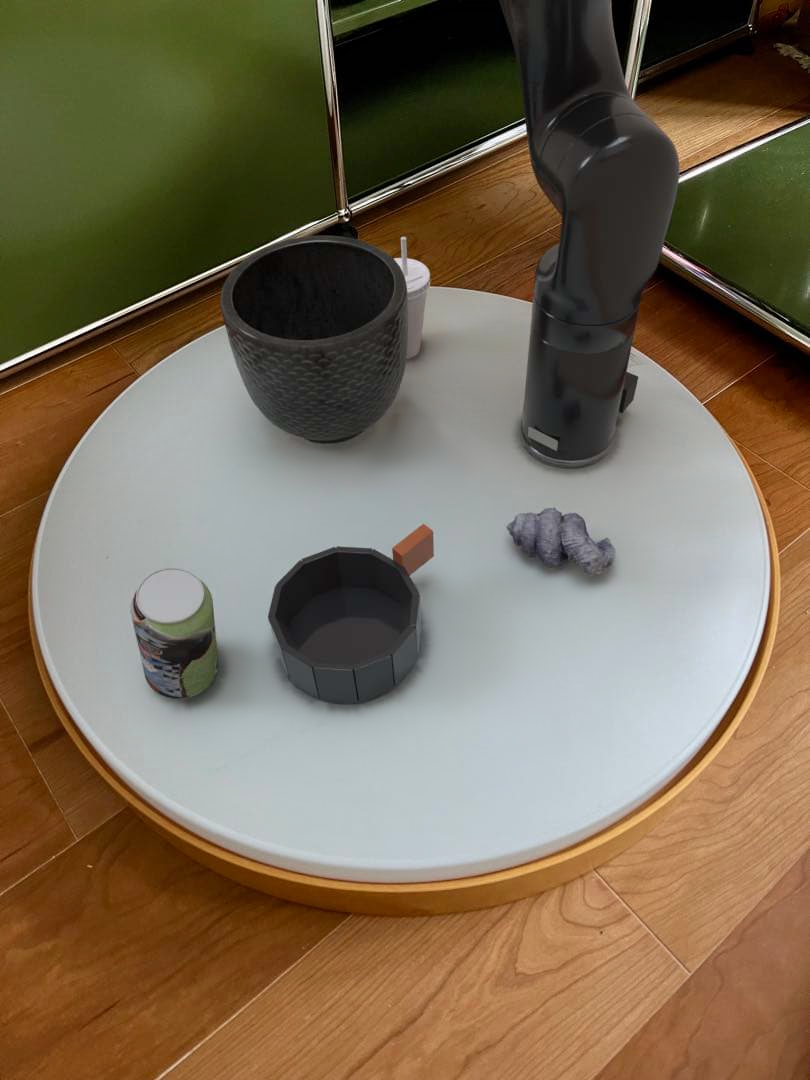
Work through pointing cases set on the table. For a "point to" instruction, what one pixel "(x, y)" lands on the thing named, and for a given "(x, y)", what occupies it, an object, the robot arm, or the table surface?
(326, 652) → the dark grey saucepan
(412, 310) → the smoothie
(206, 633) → the beverage can
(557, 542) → the seashell
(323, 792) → the table surface
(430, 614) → the table surface
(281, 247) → the planter
